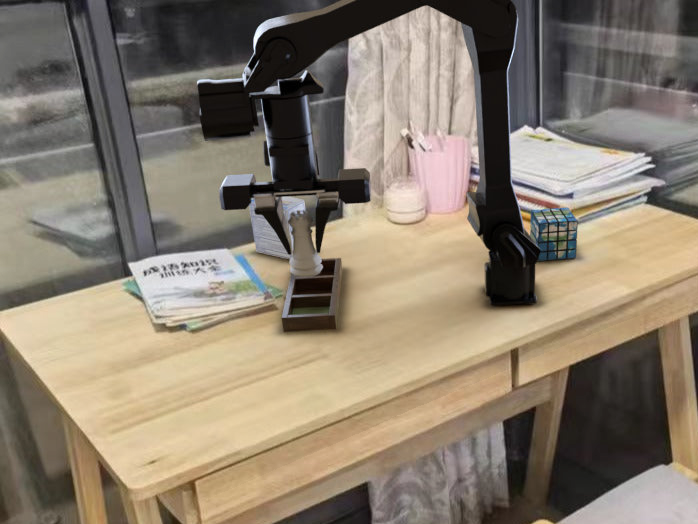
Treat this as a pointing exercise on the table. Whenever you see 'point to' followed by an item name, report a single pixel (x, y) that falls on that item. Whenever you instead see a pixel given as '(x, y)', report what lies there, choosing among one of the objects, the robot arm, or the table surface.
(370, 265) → the table surface
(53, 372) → the table surface
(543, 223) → the puzzle
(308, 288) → the tray
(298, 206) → the medicine box
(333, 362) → the table surface
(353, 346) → the table surface
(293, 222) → the rook chess piece
